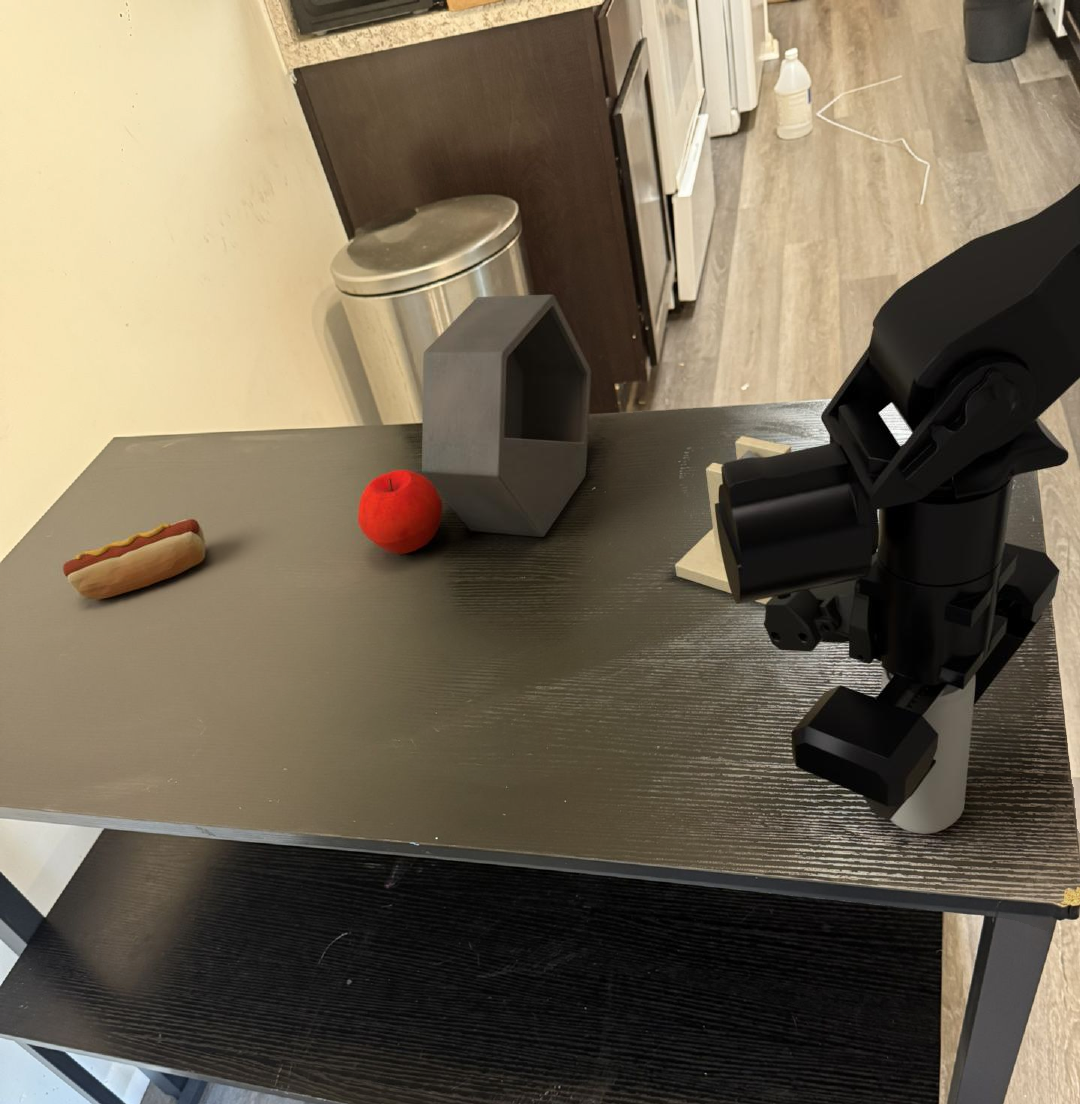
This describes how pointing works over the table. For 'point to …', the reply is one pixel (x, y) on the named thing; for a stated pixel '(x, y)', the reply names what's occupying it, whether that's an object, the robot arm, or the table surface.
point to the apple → (400, 511)
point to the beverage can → (942, 764)
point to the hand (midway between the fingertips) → (920, 762)
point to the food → (137, 560)
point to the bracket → (706, 554)
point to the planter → (506, 414)
